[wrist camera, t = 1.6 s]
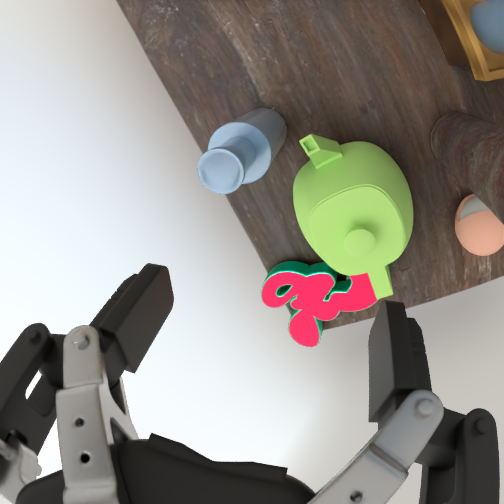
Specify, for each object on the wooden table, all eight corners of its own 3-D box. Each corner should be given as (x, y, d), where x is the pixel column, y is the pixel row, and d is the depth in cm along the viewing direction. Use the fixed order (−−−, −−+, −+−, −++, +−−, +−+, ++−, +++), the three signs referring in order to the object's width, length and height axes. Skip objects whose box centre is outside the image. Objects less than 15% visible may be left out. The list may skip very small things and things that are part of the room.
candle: (428, 104, 27) (521, 147, 11) (479, 112, 25) (584, 165, 9) (426, 165, 31) (498, 256, 15) (475, 169, 29) (560, 257, 13)
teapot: (265, 144, 35) (236, 178, 25) (363, 95, 29) (383, 106, 19) (336, 267, 42) (334, 333, 32) (422, 235, 36) (447, 296, 26)
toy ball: (497, 185, 29) (524, 211, 23) (488, 234, 33) (510, 267, 27) (449, 183, 32) (472, 210, 25) (443, 235, 36) (460, 269, 29)
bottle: (230, 130, 35) (170, 171, 22) (262, 98, 32) (215, 117, 19) (264, 162, 37) (224, 221, 24) (297, 131, 34) (275, 174, 21)
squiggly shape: (304, 339, 52) (301, 349, 50) (250, 274, 47) (245, 284, 45) (412, 310, 40) (412, 322, 38) (368, 225, 35) (368, 235, 34)
